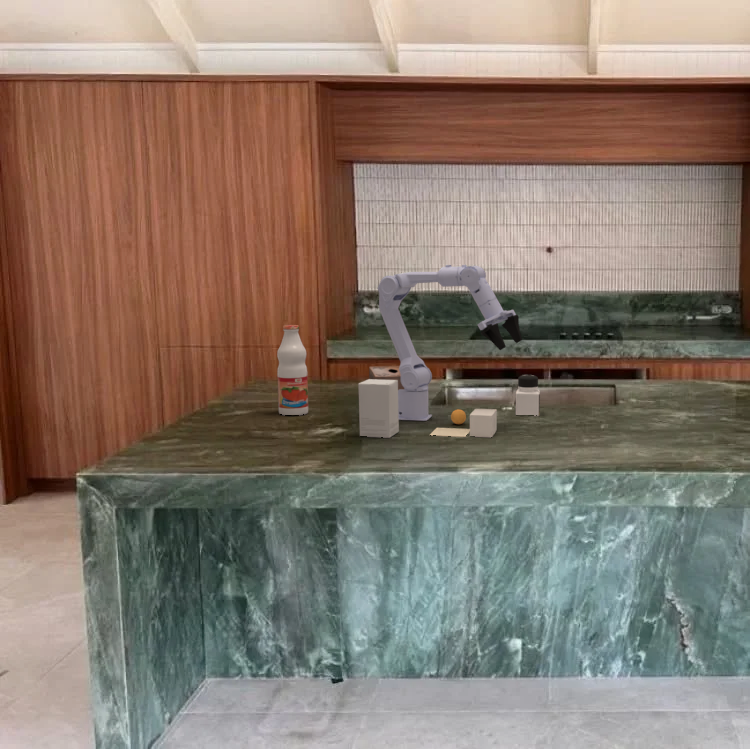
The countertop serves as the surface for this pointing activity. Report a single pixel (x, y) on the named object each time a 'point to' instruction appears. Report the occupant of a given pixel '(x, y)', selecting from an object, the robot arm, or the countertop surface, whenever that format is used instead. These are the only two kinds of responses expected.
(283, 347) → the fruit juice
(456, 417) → the ball
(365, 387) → the supplement box
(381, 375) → the tissue box cover
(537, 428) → the countertop surface
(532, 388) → the medicine bottle
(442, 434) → the mark
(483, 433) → the white rectangular prism
